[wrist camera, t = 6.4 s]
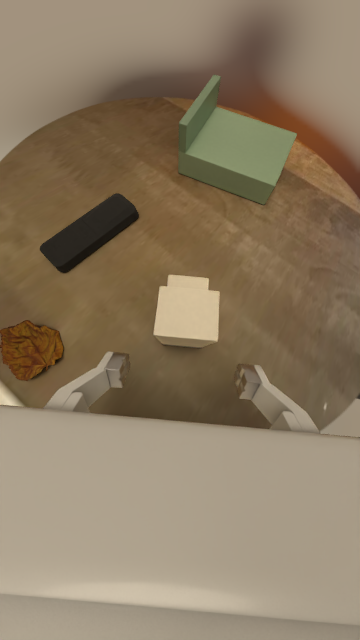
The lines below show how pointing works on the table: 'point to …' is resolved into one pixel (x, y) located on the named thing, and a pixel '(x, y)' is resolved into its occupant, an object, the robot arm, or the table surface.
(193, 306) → the beige stepped block
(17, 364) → the leaf
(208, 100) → the green l-shaped bracket
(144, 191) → the table surface
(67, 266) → the remote control
